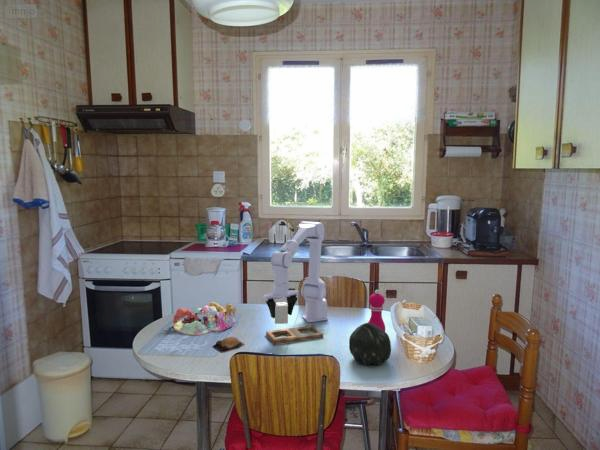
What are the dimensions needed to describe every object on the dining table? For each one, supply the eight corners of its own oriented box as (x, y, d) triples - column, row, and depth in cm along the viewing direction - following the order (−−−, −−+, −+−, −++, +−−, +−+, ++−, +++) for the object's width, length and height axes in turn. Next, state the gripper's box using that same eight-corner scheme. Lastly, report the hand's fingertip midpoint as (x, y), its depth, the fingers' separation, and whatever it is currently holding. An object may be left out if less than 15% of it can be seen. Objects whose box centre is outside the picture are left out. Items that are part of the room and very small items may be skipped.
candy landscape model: (204, 312, 202) (203, 293, 201) (245, 321, 191) (245, 300, 190) (164, 329, 180) (163, 308, 179) (208, 340, 169) (207, 317, 168)
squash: (390, 336, 159) (364, 308, 156) (405, 354, 144) (377, 324, 141) (361, 361, 159) (335, 334, 156) (373, 383, 145) (345, 353, 141)
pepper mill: (387, 337, 172) (388, 288, 169) (382, 344, 165) (383, 293, 163) (369, 334, 175) (370, 286, 172) (364, 340, 168) (365, 291, 166)
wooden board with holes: (313, 328, 181) (313, 324, 181) (323, 337, 172) (323, 333, 171) (266, 335, 174) (266, 331, 174) (274, 345, 164) (274, 340, 164)
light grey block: (287, 319, 172) (287, 302, 171) (287, 323, 167) (287, 306, 166) (275, 319, 172) (275, 302, 171) (274, 323, 167) (274, 306, 166)
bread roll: (234, 340, 170) (234, 331, 170) (246, 346, 164) (246, 337, 164) (210, 347, 163) (209, 338, 163) (222, 354, 157) (222, 344, 157)
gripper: (292, 277, 175) (292, 310, 177) (259, 282, 168) (260, 315, 170) (301, 281, 169) (301, 315, 170) (267, 286, 162) (267, 321, 163)
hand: (281, 315), depth 170 cm, fingers closed on light grey block, 7 cm apart
